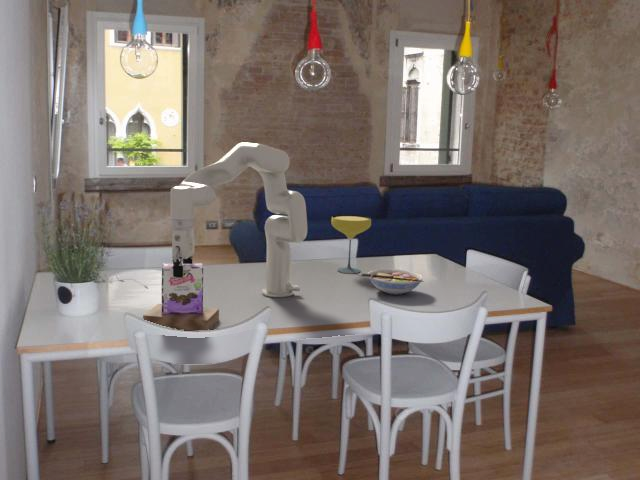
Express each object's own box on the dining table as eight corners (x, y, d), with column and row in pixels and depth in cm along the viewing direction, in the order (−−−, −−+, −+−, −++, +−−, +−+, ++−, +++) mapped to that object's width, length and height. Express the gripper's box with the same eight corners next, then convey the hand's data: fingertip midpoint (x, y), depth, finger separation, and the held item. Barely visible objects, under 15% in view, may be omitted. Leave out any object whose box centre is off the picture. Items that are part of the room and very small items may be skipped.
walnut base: (218, 319, 247) (219, 308, 247) (207, 332, 234) (207, 320, 233) (158, 314, 250) (158, 303, 249) (143, 326, 237) (143, 315, 236)
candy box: (161, 314, 237) (161, 266, 234) (161, 309, 243) (161, 262, 240) (203, 313, 240) (203, 266, 237) (202, 308, 246) (202, 262, 242)
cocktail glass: (321, 269, 327) (323, 216, 322) (349, 264, 339) (351, 213, 334) (348, 277, 314) (351, 222, 309) (376, 272, 326) (379, 218, 321)
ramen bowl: (427, 289, 300) (429, 270, 298) (420, 303, 278) (421, 283, 277) (370, 283, 306) (371, 264, 305) (358, 296, 285) (359, 276, 283)
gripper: (184, 229, 226) (185, 280, 230) (201, 219, 243) (201, 267, 247) (162, 227, 227) (163, 279, 231) (180, 218, 244) (180, 266, 248)
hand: (183, 273), depth 239 cm, fingers open, 9 cm apart
